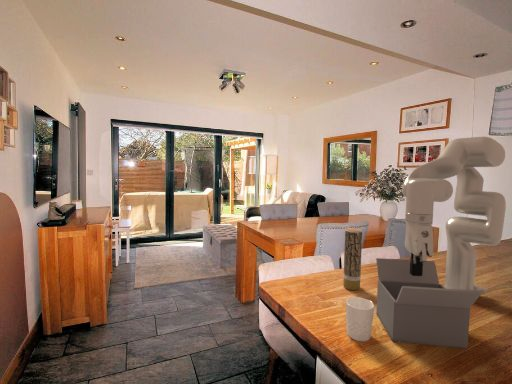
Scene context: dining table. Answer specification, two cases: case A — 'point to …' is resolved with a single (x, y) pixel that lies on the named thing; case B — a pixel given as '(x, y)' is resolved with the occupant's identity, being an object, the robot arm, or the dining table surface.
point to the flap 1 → (405, 271)
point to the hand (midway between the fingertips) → (415, 274)
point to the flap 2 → (437, 297)
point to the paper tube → (352, 258)
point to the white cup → (359, 318)
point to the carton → (421, 318)
